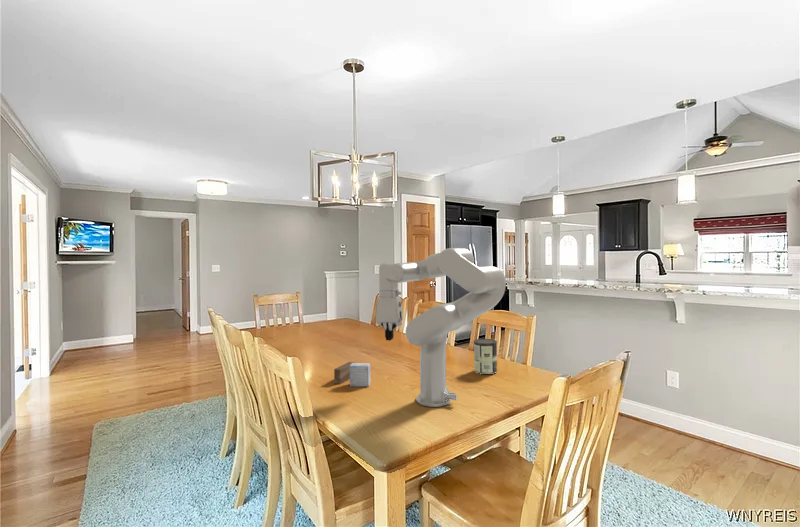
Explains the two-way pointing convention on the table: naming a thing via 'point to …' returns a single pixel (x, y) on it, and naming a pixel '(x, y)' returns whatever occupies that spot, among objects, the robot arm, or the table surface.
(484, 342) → the coffee can
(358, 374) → the medicine box
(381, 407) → the table surface
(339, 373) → the walnut block
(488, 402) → the table surface
